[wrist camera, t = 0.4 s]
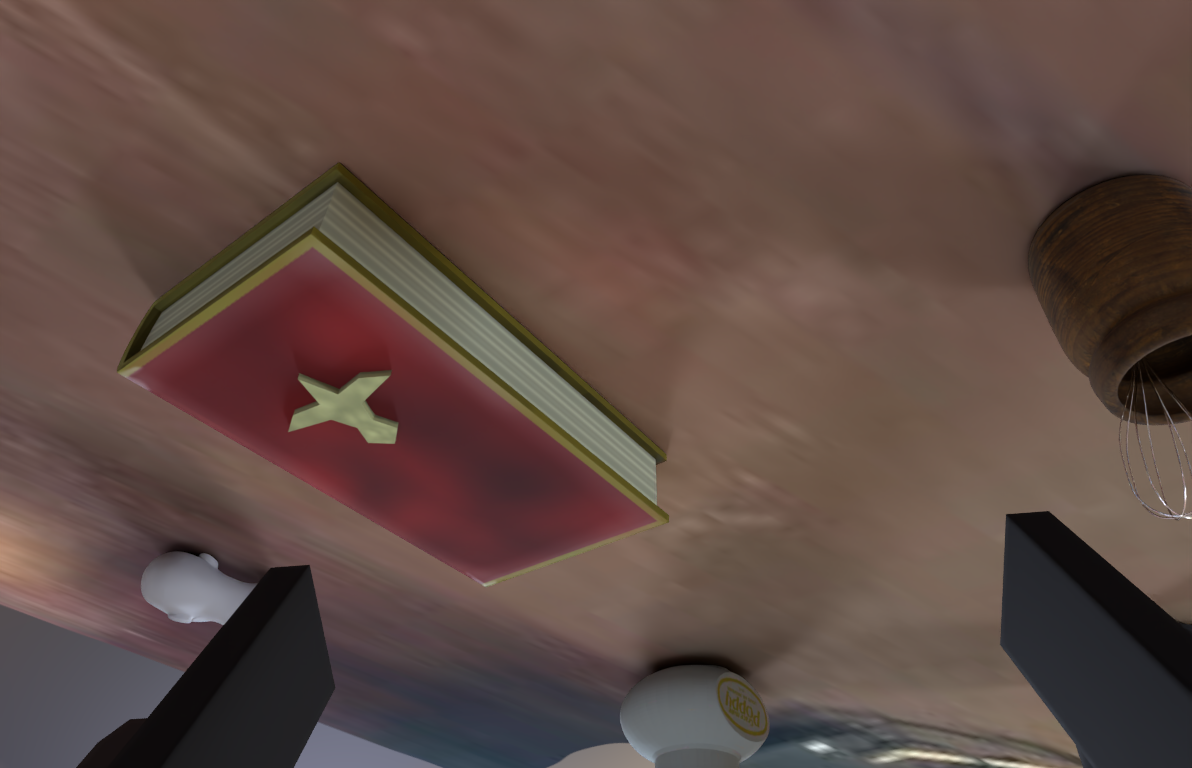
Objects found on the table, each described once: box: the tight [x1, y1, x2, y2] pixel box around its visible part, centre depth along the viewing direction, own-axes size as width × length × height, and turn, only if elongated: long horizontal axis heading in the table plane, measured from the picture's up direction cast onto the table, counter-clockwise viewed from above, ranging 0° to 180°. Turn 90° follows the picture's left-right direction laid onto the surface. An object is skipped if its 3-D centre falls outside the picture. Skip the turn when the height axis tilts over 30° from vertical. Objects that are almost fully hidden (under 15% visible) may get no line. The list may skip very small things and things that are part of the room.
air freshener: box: [620, 665, 769, 768], centre depth 60 cm, size 11×8×10 cm
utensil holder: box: [1028, 175, 1192, 520], centre depth 27 cm, size 6×6×12 cm
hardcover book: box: [117, 163, 669, 587], centre depth 37 cm, size 12×21×4 cm, turn 37°
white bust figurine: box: [141, 551, 259, 625], centre depth 51 cm, size 4×8×5 cm
